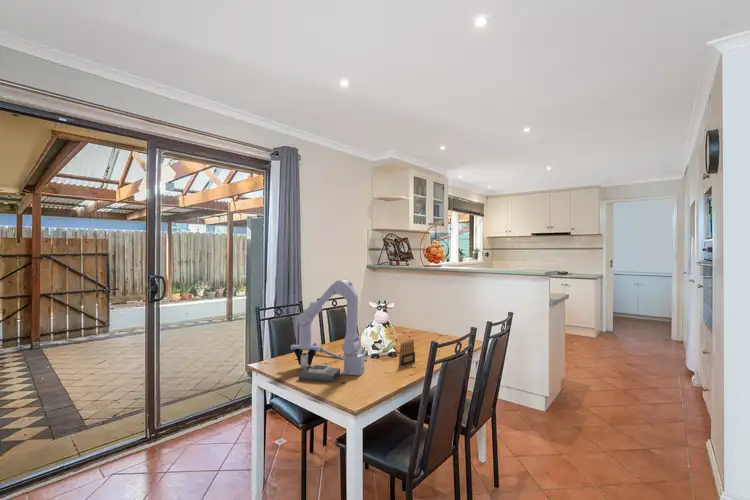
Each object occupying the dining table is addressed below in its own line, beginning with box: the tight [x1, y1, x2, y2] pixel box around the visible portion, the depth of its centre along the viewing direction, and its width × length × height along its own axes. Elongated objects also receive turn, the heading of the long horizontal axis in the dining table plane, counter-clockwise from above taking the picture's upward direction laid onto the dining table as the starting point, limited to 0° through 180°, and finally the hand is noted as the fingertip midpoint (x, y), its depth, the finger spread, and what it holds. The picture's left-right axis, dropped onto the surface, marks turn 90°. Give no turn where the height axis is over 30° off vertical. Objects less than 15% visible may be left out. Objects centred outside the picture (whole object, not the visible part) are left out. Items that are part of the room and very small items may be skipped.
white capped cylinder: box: [300, 352, 309, 370], centre depth 176 cm, size 4×4×7 cm
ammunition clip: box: [398, 338, 416, 367], centre depth 184 cm, size 11×2×12 cm, turn 135°
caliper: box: [312, 342, 341, 360], centre depth 197 cm, size 20×1×6 cm, turn 58°
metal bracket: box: [339, 346, 369, 362], centre depth 196 cm, size 14×6×15 cm
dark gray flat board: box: [298, 363, 341, 384], centre depth 162 cm, size 16×10×4 cm, turn 78°
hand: (305, 364), depth 176 cm, fingers closed on white capped cylinder, 4 cm apart
